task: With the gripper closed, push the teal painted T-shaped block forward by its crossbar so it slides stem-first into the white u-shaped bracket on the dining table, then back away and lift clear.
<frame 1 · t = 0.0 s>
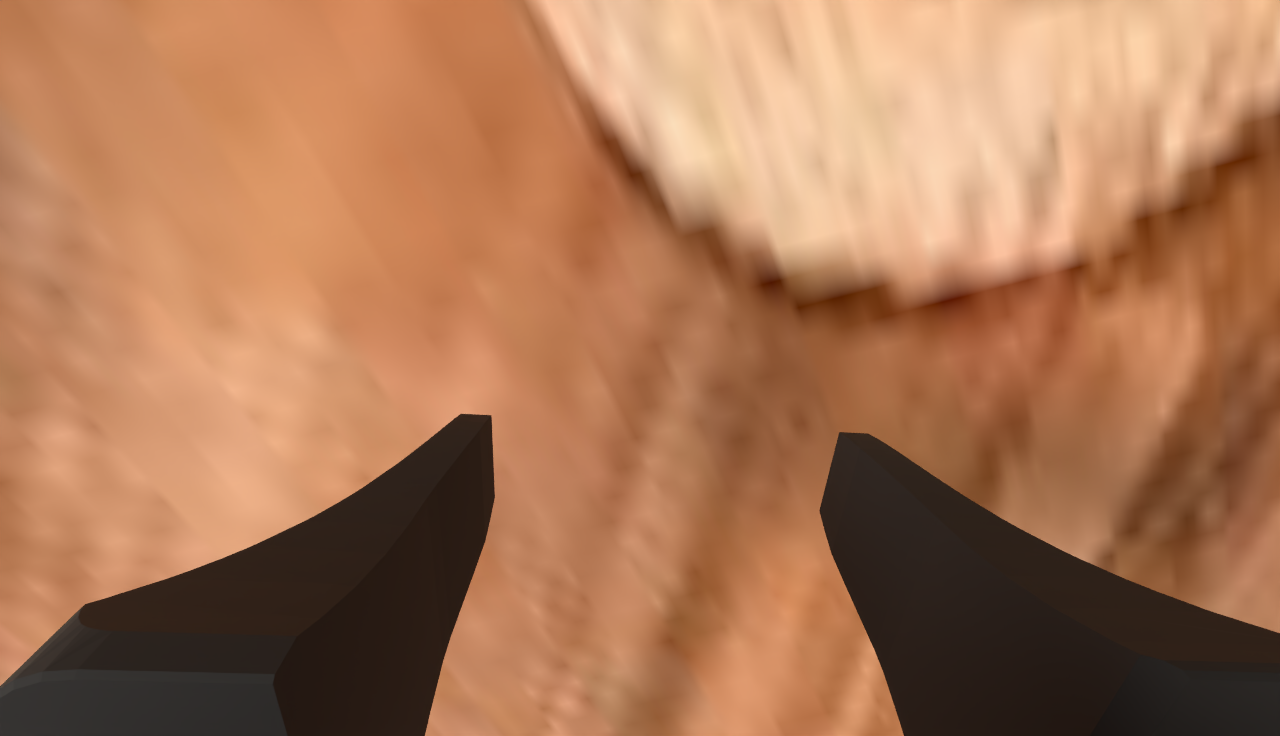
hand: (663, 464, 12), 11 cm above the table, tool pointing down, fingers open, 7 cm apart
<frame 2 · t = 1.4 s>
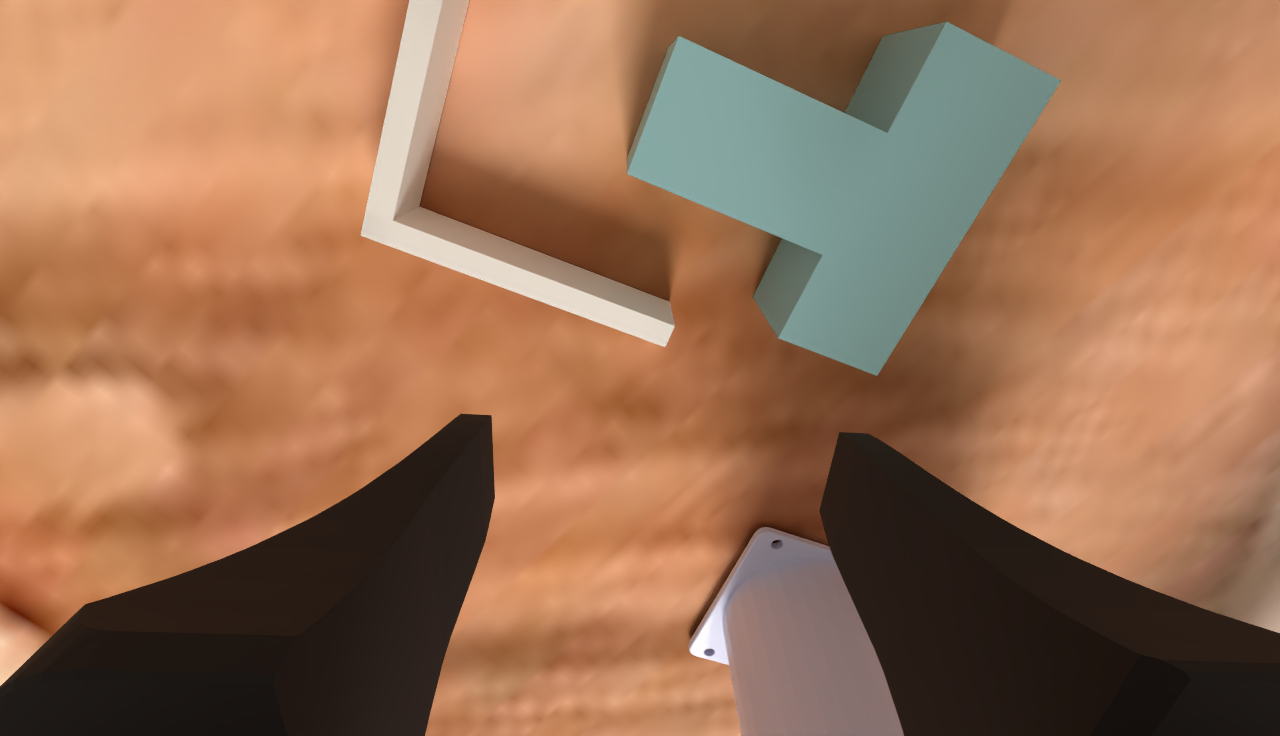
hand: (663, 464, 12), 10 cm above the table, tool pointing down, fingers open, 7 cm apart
white u-shaped bracket: (594, 82, 19), on the table
t block: (779, 163, 20), on the table
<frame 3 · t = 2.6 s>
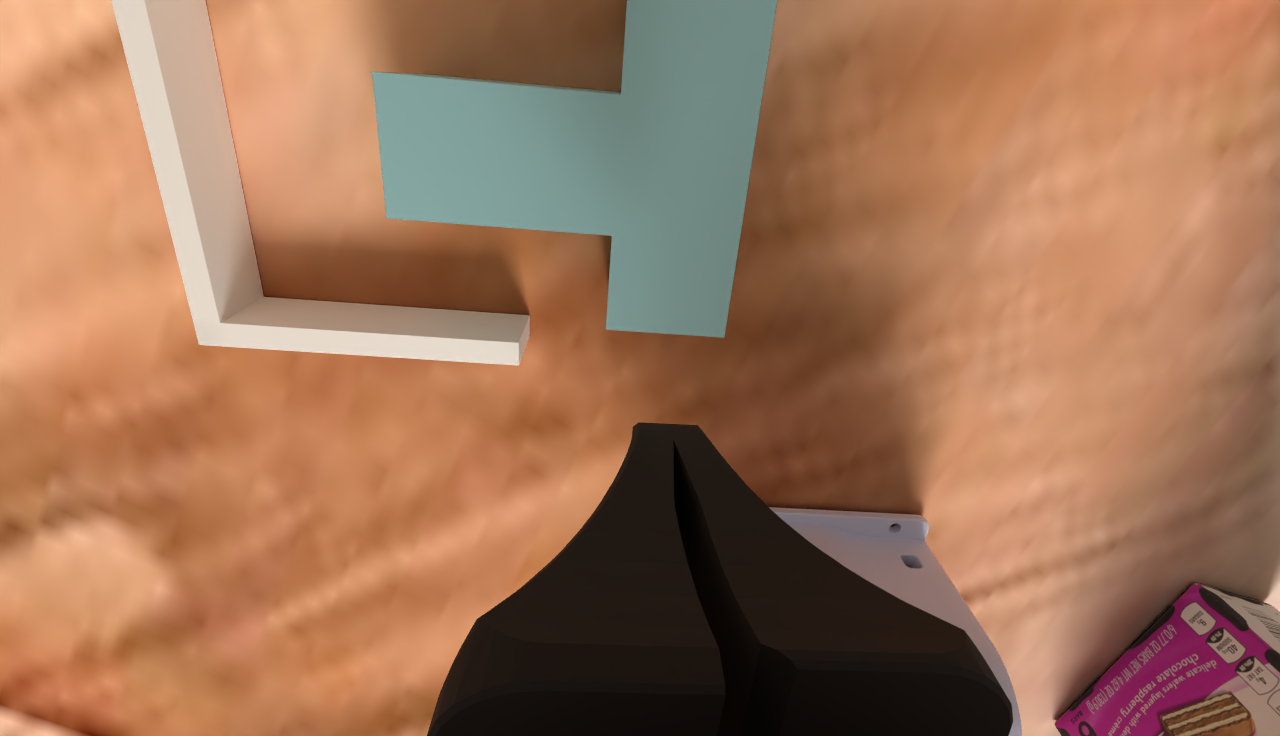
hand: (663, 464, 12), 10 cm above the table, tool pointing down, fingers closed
candy bar box: (1146, 661, 31), on the table
white u-shaped bracket: (368, 130, 19), on the table
t block: (578, 148, 19), on the table
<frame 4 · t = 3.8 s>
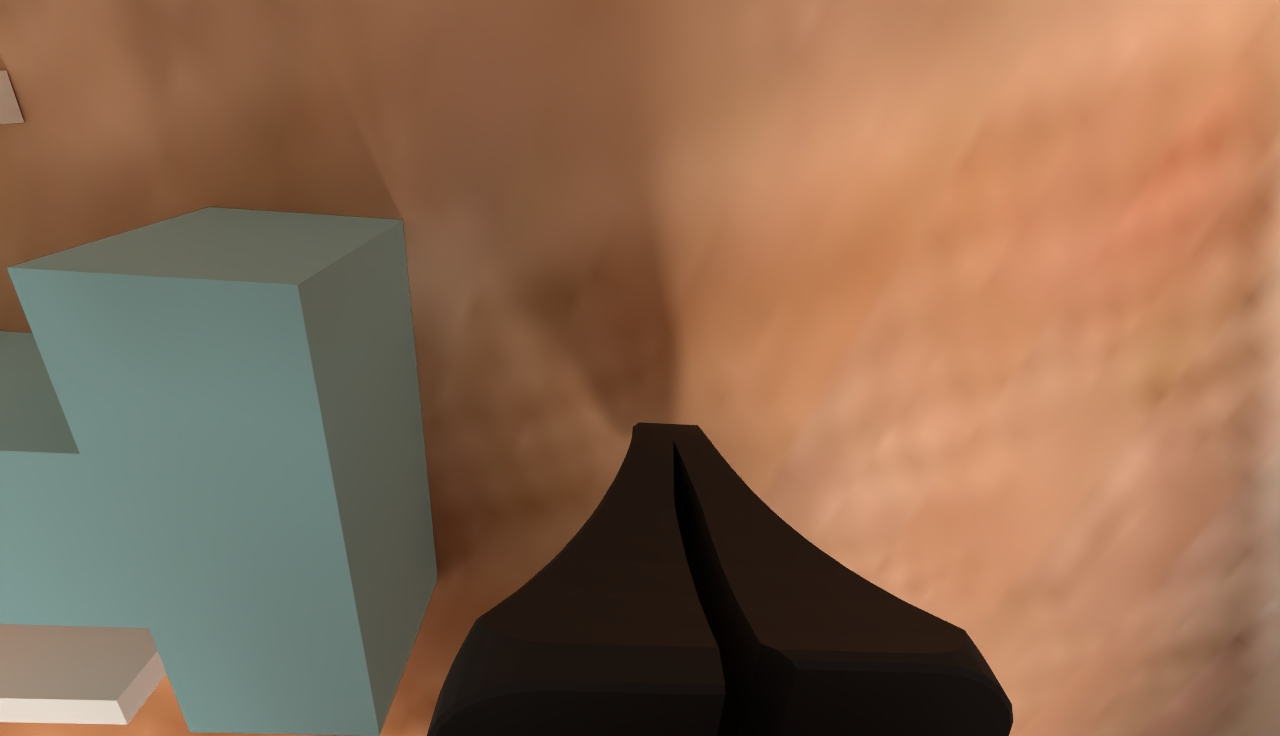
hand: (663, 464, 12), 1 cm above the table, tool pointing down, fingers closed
t block: (198, 415, 13), on the table
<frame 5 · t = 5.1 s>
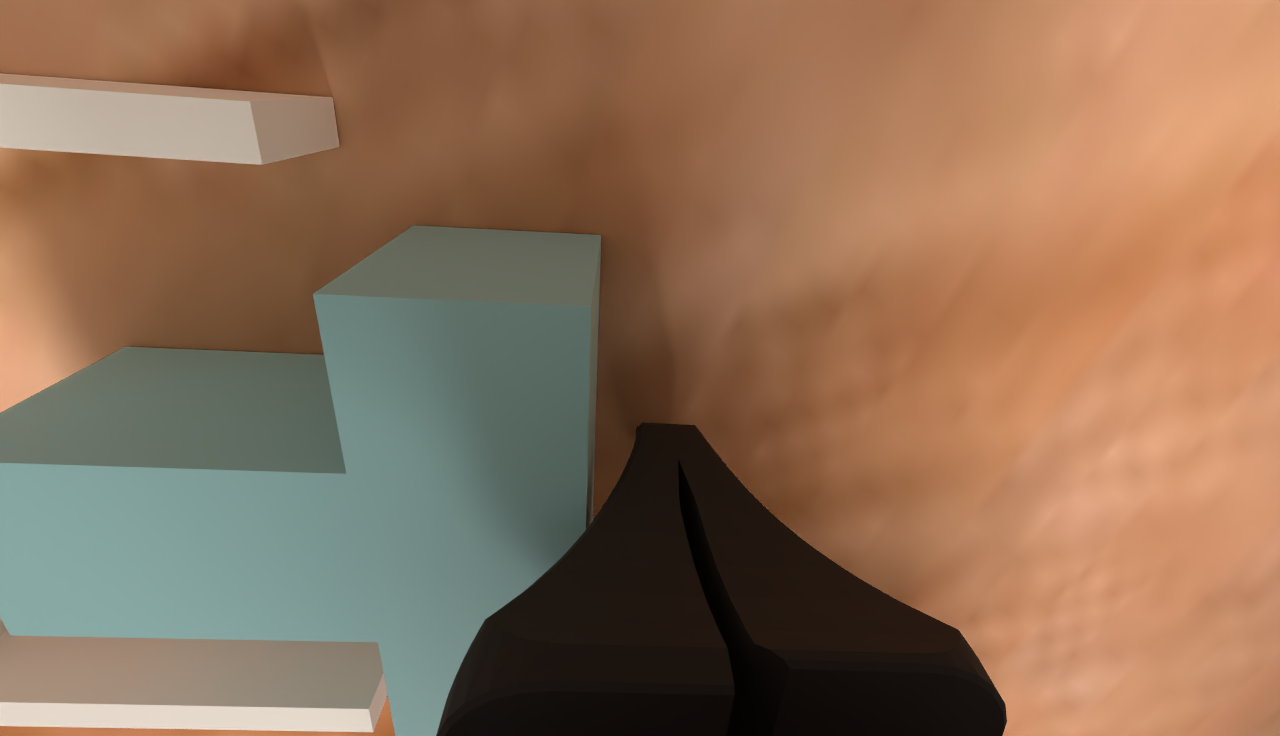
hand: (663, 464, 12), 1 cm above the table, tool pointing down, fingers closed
white u-shaped bracket: (139, 416, 13), on the table
t block: (377, 429, 13), on the table, touching gripper
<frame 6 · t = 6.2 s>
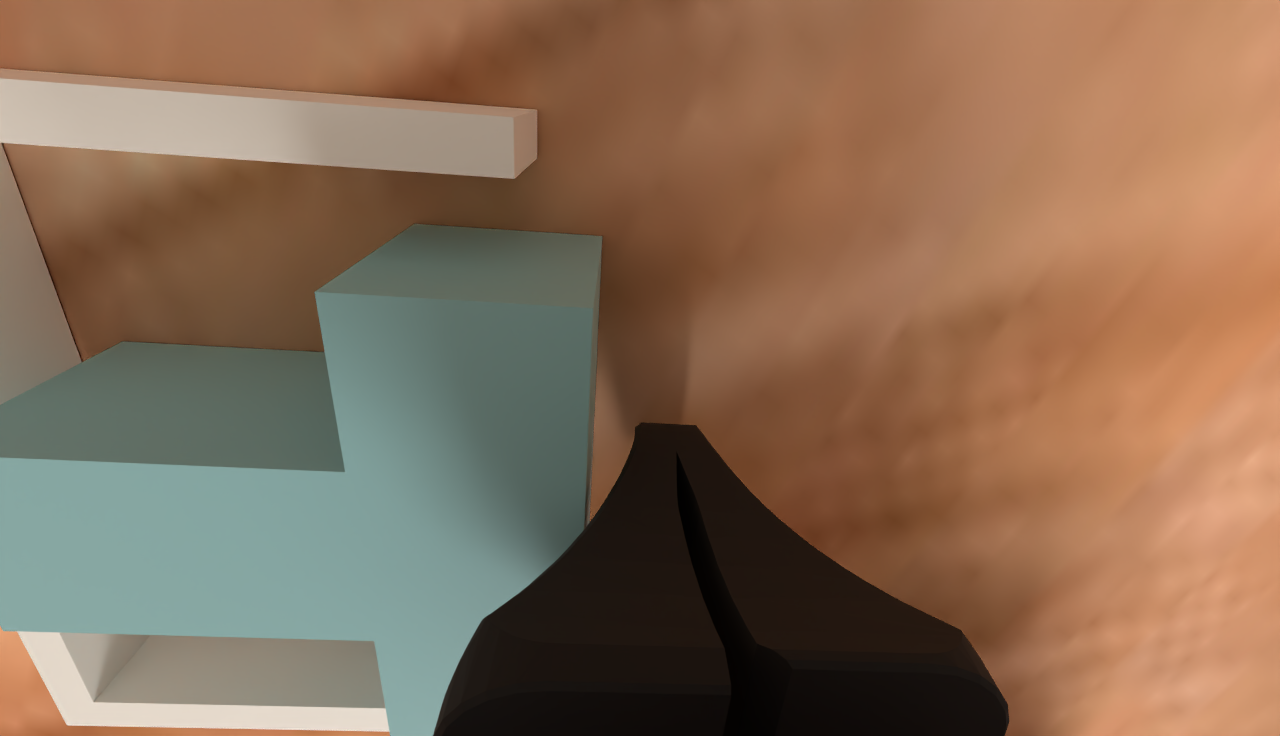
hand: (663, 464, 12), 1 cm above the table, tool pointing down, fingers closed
white u-shaped bracket: (304, 421, 13), on the table
t block: (374, 427, 13), on the table, touching gripper
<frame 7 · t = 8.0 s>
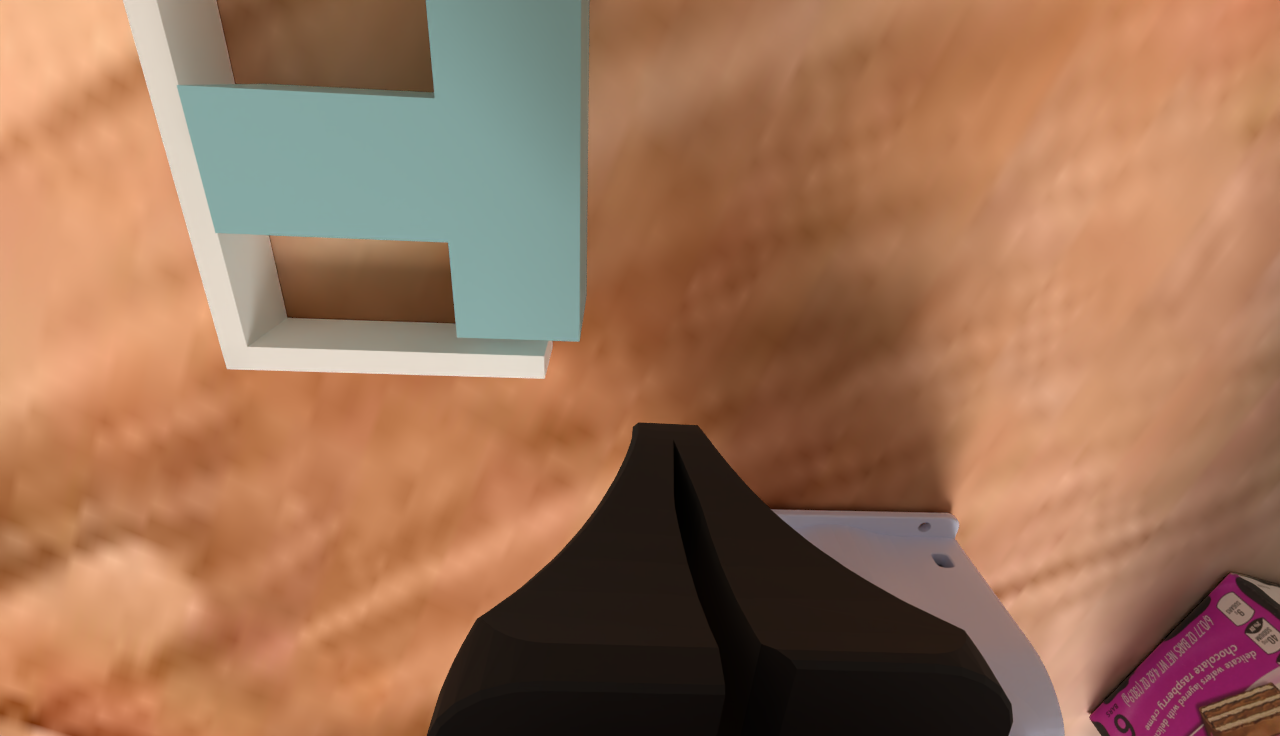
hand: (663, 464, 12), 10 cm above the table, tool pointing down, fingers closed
candy bar box: (1181, 652, 30), on the table
white u-shaped bracket: (387, 149, 18), on the table
t block: (435, 153, 19), on the table
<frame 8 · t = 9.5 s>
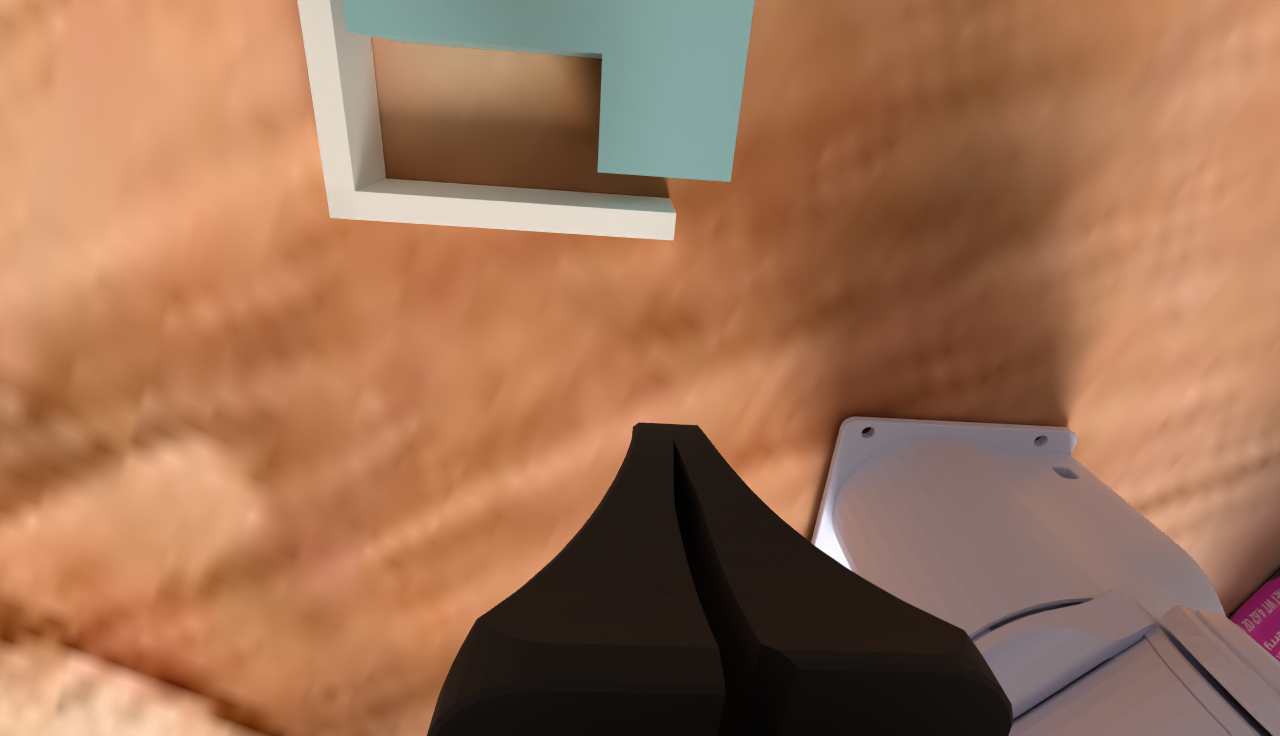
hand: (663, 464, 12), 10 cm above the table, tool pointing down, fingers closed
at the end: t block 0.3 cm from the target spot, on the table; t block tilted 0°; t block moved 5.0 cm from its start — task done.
